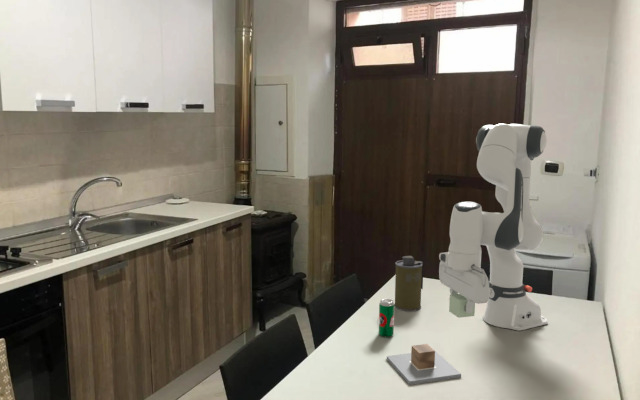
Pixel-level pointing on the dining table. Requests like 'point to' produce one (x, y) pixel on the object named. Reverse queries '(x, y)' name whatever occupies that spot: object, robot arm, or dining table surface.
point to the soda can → (386, 318)
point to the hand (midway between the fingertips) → (461, 308)
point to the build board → (416, 375)
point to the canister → (408, 284)
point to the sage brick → (459, 306)
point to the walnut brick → (423, 356)
